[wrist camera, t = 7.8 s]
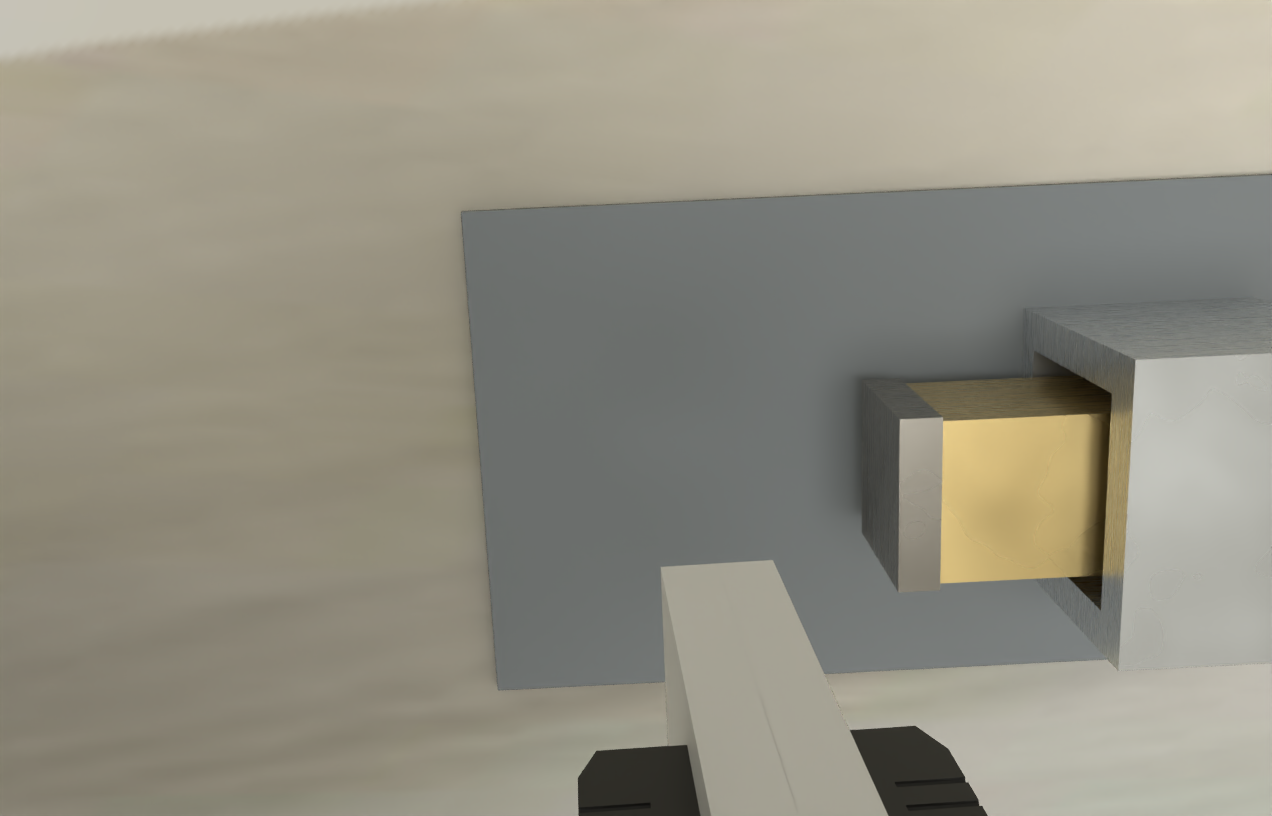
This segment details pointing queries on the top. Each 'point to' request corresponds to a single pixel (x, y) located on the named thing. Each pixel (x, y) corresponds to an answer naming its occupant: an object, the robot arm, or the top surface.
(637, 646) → the mat
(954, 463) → the rod
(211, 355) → the top surface
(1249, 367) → the guide sleeve
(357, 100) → the top surface
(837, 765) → the robot arm
